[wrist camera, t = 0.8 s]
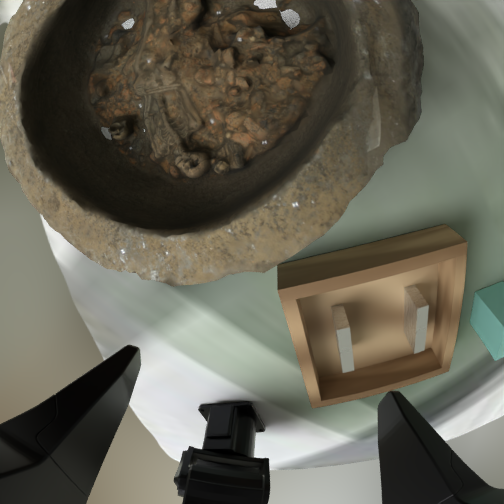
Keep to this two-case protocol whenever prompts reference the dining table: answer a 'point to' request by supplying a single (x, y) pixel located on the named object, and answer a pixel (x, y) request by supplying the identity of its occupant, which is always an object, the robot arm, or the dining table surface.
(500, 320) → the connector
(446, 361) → the walled box
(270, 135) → the stone bowl
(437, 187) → the dining table surface
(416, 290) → the socket
